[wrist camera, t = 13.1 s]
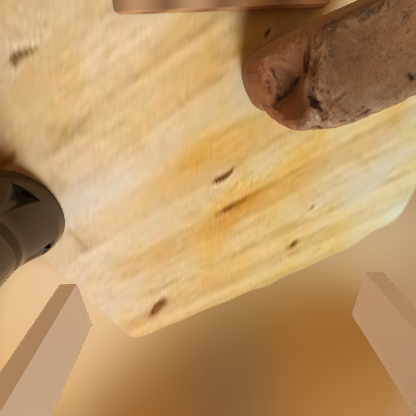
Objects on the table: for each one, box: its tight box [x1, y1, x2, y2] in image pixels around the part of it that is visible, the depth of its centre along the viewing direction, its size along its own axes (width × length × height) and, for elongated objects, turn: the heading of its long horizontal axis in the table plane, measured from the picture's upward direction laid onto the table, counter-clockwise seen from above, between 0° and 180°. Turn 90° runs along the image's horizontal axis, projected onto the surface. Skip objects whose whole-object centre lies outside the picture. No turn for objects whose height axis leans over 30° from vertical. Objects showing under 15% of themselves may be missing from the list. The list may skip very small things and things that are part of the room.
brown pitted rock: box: [242, 0, 416, 131], centre depth 24 cm, size 11×8×20 cm
